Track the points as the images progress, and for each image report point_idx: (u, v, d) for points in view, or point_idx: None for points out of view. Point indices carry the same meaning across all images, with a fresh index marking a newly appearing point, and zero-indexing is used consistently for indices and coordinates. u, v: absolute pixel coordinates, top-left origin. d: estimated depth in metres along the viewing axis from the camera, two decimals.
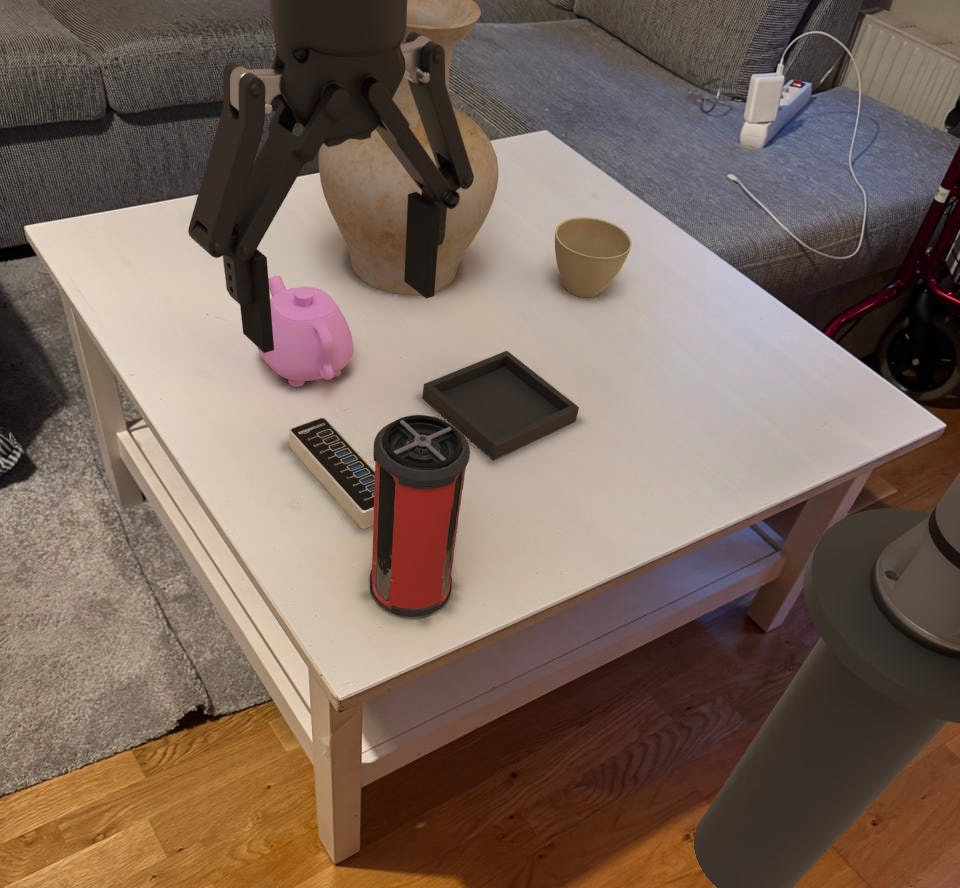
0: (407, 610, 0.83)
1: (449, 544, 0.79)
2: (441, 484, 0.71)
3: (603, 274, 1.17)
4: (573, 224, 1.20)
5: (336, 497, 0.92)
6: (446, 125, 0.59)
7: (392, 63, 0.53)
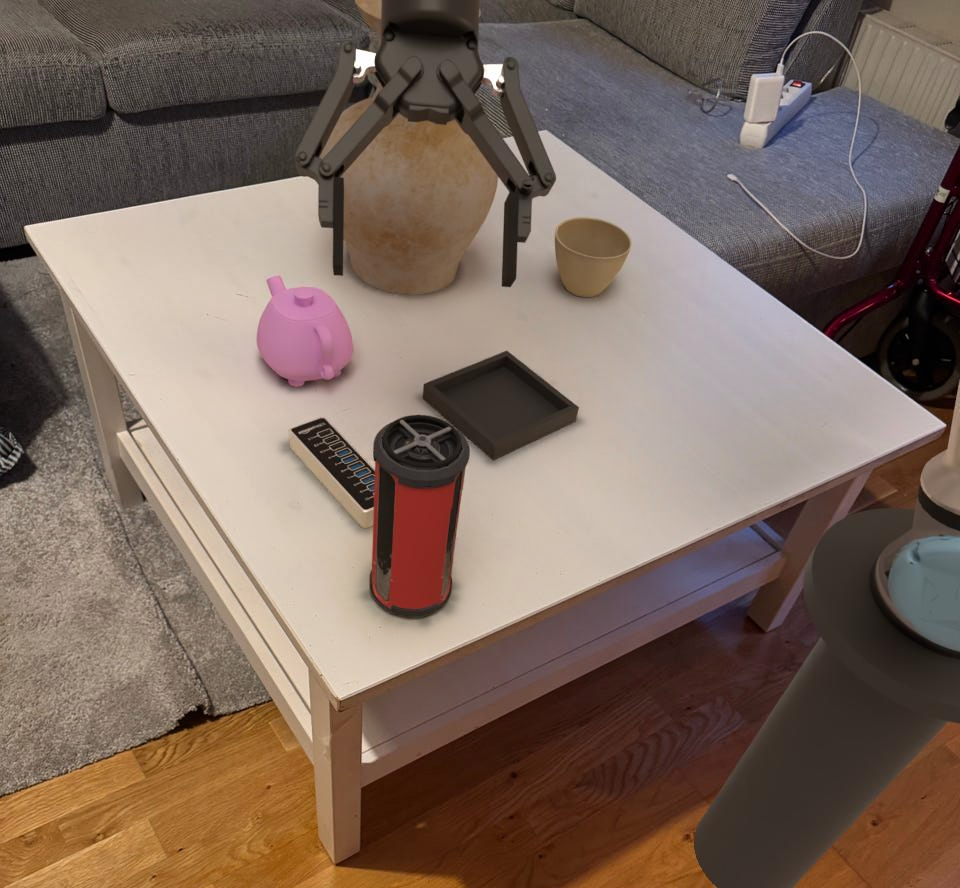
0: (407, 610, 0.83)
1: (449, 544, 0.79)
2: (441, 484, 0.71)
3: (603, 274, 1.17)
4: (573, 224, 1.20)
5: (337, 497, 0.92)
6: (523, 122, 0.71)
7: (468, 60, 0.70)
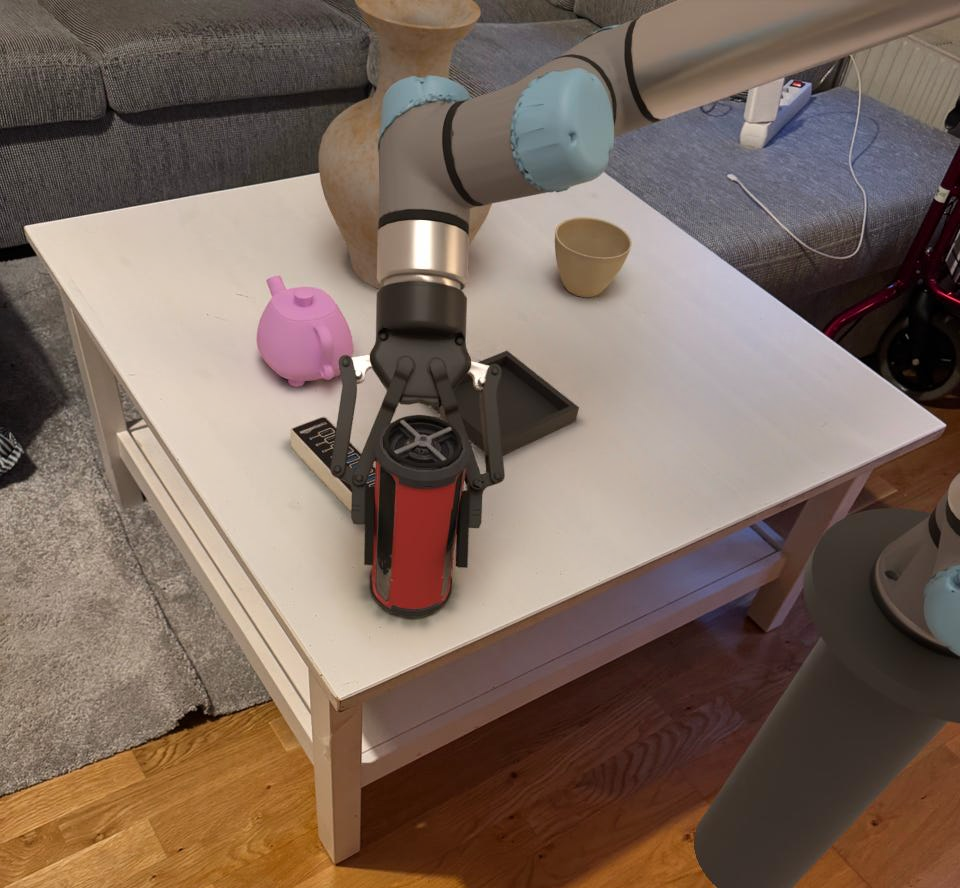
0: (407, 610, 0.83)
1: (449, 544, 0.79)
2: (441, 484, 0.71)
3: (603, 274, 1.17)
4: (573, 224, 1.20)
5: (340, 496, 0.92)
6: (490, 422, 0.77)
7: (458, 355, 0.76)
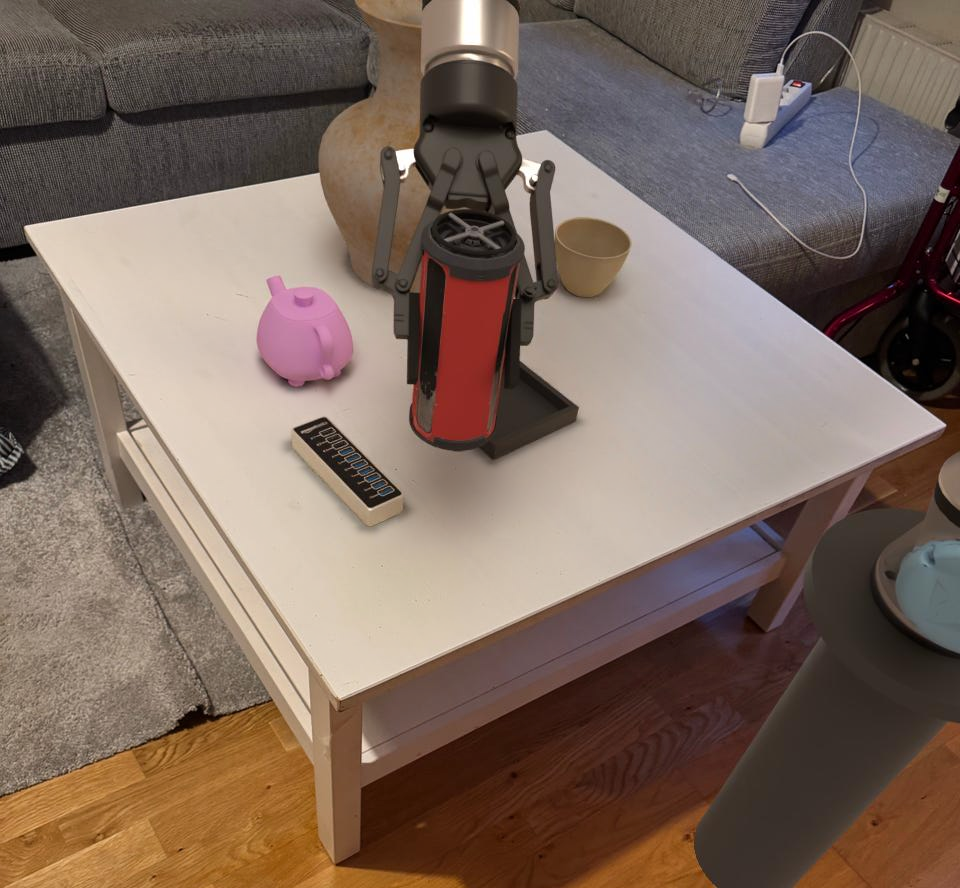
0: (451, 441, 0.77)
1: (498, 363, 0.74)
2: (495, 276, 0.66)
3: (603, 274, 1.17)
4: (573, 224, 1.20)
5: (341, 496, 0.92)
6: (542, 224, 0.71)
7: (509, 150, 0.70)
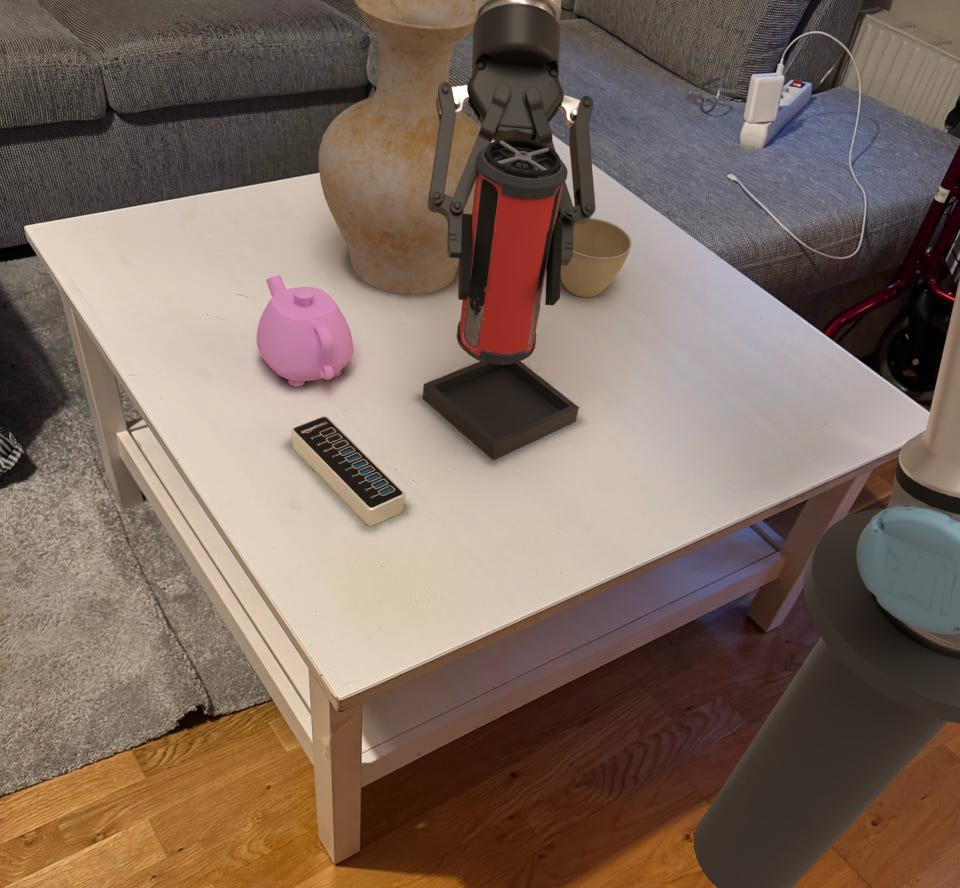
0: (496, 354, 0.86)
1: (540, 280, 0.82)
2: (542, 194, 0.74)
3: (603, 274, 1.17)
4: None
5: (342, 496, 0.92)
6: (581, 154, 0.80)
7: (552, 86, 0.79)
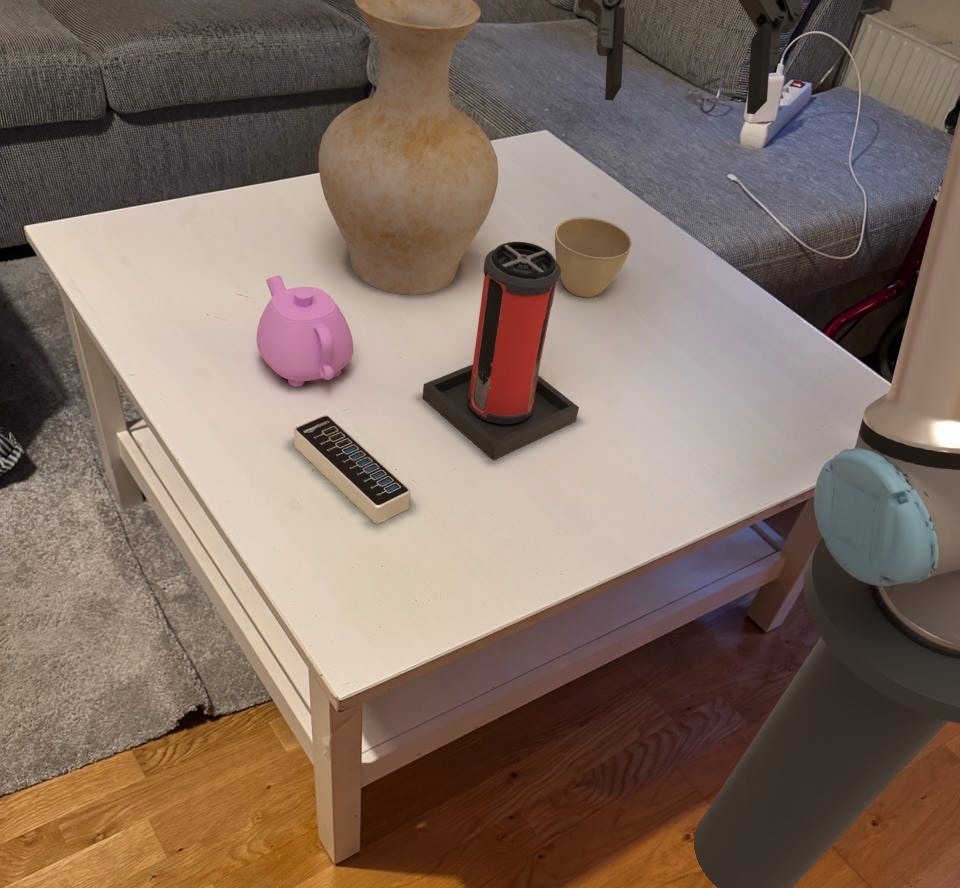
0: (501, 416, 1.01)
1: (538, 356, 0.97)
2: (540, 292, 0.89)
3: (603, 274, 1.17)
4: (573, 224, 1.20)
5: (347, 494, 0.92)
6: None
7: None
